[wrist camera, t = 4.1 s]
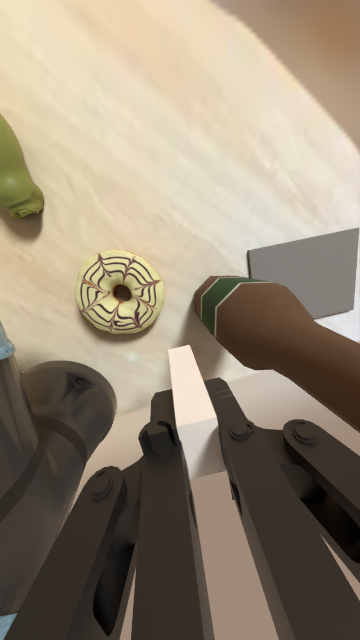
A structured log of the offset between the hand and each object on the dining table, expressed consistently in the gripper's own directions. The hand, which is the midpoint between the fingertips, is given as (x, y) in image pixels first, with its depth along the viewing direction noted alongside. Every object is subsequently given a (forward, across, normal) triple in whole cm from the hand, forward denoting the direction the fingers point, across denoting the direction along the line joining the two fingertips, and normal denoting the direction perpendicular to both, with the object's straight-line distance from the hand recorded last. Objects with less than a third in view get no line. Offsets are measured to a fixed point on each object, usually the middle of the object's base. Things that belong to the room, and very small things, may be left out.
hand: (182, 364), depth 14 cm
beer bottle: (+16, +7, 0) cm, 17 cm away
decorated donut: (+16, -6, +4) cm, 17 cm away
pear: (+16, -14, +19) cm, 28 cm away
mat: (+16, +20, 0) cm, 26 cm away
